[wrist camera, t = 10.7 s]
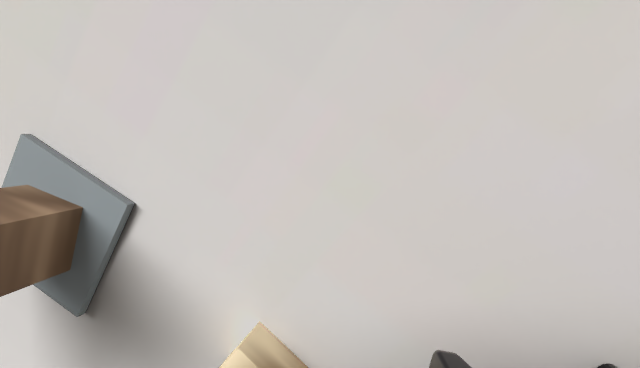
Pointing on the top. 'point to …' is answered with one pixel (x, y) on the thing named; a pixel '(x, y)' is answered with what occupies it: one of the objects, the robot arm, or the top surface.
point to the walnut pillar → (35, 236)
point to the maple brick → (262, 352)
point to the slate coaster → (95, 225)
